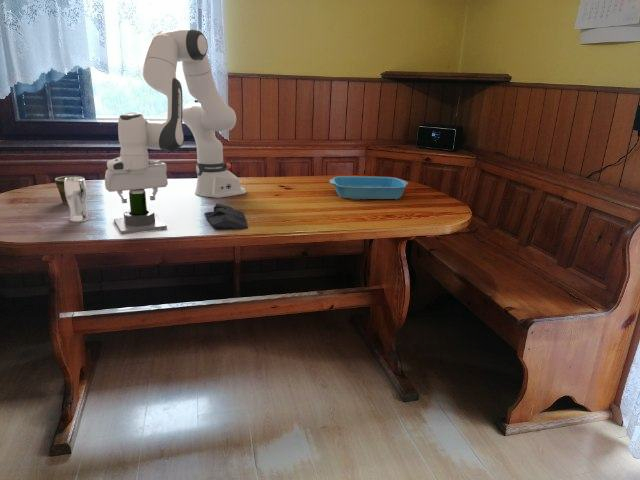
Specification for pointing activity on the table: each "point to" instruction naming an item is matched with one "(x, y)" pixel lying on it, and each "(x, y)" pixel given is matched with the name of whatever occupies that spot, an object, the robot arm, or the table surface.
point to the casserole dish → (368, 187)
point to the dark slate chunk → (226, 217)
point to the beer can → (138, 202)
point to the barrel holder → (139, 222)
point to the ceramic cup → (62, 187)
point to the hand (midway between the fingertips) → (138, 201)
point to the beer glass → (76, 198)
